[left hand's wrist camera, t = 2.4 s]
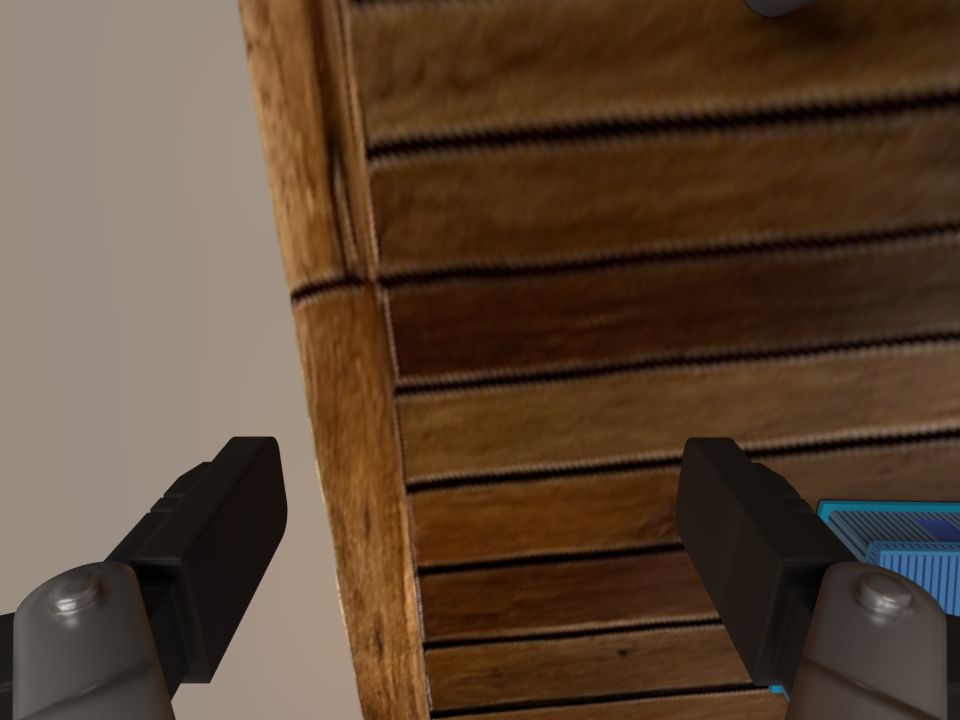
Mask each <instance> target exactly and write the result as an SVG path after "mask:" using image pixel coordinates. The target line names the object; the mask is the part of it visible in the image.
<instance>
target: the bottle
mask: <svg viewBox="0 0 960 720" xmlns="http://www.w3.org/2000/svg"><path fill="white" fill-rule="evenodd" d="M818 1H820V0H745V2H746V3H747V5H748V6H749V7H750V8H751V9H752V10H754V11H755V12H757V13H759V14H761V15H764V16H769V17H778V16H783V15H787V14H789V13H792V12H794V11H796V10H799V9H801V8H804V7H806V6H808V5H811V4H813V3H816V2H818Z"/></svg>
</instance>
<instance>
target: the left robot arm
mask: <svg viewBox="0 0 960 720" xmlns="http://www.w3.org/2000/svg"><path fill="white" fill-rule="evenodd" d="M675 512H676V524H677V529H678V533H679V536H680V538H681V541H682V543H683V545H684V547H685V548H686V550H687V552H688V554H689V556H690V558H691V560H692V562H693V564H694V566H695V568H696V570H697V572H698V574H699V576H700V578H701V580H702V582H703V584H704V586H705V588H706V590H707V592H708V594H709V596H710V598H711V600H712V602H713V604H714V606H715V608H716V610H717V612H718V614H719V616H720V618H721V620H722V622H723V624H724V626H725V628H726V630H727V632H728V634H729V636H730V637H731V639H732V641H733V643H734V645H735V647H736V649H737V651H738V653H739V655H740V657H741V659H742V661H743V663H744V665H745V667H746V669H747V671H748V673H749V675H750V677H751V679H752V681H753V683H754V685H755V686H785V688H786V690H787V692H788V694H789V695H790V701H789V704H788V708H787V712H786V715H785V719H784V720H960V616H956V615H951V614H947V613H944V611H943V609H942V607H941V606H940V604H939V603H938V601H937V600H936V599H935V598H934V597H933V596H932V595H931V594H930V593H929V592H927V591H926V590H925V589H924V588H922V587H921V586H920V585H918V584H917V583H915V582H914V581H912V580H910V579H909V578H907V577H905V576H903V575H901V574H899V573H897V572H894V571H892V570H889V569H887V568H884V567H881V566H878V565H874V564H869V563H864V562H860V561H859V560H858V559H857V558H856V556H855V555H854V554H853V553H852V552H851V551H850V550H849V549H848V548H847V547H846V545H845V544H844V543H843V542H842V541H841V540H840V539H839V538H838V537H837V536H836V534H835V533H834V532H833V531H832V530H831V529H830V528H829V527H828V526H827V524H826V523H825V522H824V521H823V520H822V519H821V518H820V517H819V516H818V515H817V514H814V510H813V509H812V508H811V507H810V506H809V505H808V504H807V502H806V501H805V500H804V499H801V498H800V495H799V494H798V492H797V491H796V490H795V489H794V488H793V487H792V486H791V485H790V484H789V483H788V481H787V480H786V479H785V478H784V477H782V476H780V475H779V474H777V473H775V472H774V471H772V470H771V469H769V468H767V467H766V466H764V465H762V464H761V463H752V462H751V461H750V460H749V458H748V457H747V456H746V455H745V454H744V452H743V451H742V450H741V449H740V448H739V447H738V445H737V444H736V443H735V442H734V441H733V440H732V439H731V438H689V439H688V440H687V442H686V444H685V447H684V453H683V459H682V466H681V473H680V480H679V487H678V493H677V500H676V511H675ZM286 523H287V499H286V493H285V486H284V479H283V472H282V465H281V458H280V451H279V446H278V443H277V440H276V439H275V438H274V437H233V438H231V439H230V440H229V441H228V443H227V444H226V445H225V446H224V447H223V449H222V450H221V451H220V452H219V453H218V455H217V456H216V457H215V458H214V459H213V461H212V462H203V463H201V464H199V465H198V466H196V467H195V468H193V469H191V470H190V471H188V472H186V473H185V474H183V475H182V476H180V477H179V478H178V479H177V480H176V481H175V482H174V483H173V485H172V486H171V487H170V488H169V489H168V490H167V491H166V492H165V493H164V497H163V498H160V499H159V500H158V501H157V502H156V504H155V505H154V506H153V507H152V508H151V511H150V513H147V514H146V515H145V516H144V517H143V518H142V519H141V520H140V521H139V523H138V524H137V525H136V526H135V527H134V528H133V529H132V530H131V531H130V532H129V534H128V535H127V536H126V537H125V538H124V539H123V540H122V541H121V542H120V544H119V545H118V546H117V547H116V548H115V549H114V550H113V551H112V553H111V554H110V555H109V556H108V557H107V558H106V559H105V560H104V561H103V562H96V563H91V564H87V565H82V566H79V567H76V568H73V569H71V570H68V571H66V572H63V573H61V574H59V575H57V576H55V577H53V578H51V579H50V580H48V581H46V582H45V583H43V584H42V585H40V586H39V587H38V588H36V589H35V590H34V591H33V592H31V593H30V594H29V595H28V596H27V597H26V598H25V599H24V600H23V601H22V603H21V604H20V606H19V607H18V609H17V611H16V612H14V613H9V614H5V615H0V720H176V719H175V715H174V712H173V708H172V704H171V700H172V698H173V696H174V695H175V693H176V691H177V689H178V687H179V686H180V684H181V683H210V682H211V680H212V678H213V676H214V673H215V672H216V670H217V668H218V666H219V664H220V661H221V660H222V658H223V656H224V654H225V652H226V650H227V648H228V646H229V643H230V642H231V639H232V638H233V635H234V634H235V632H236V630H237V628H238V626H239V624H240V622H241V620H242V618H243V616H244V614H245V612H246V610H247V608H248V605H249V604H250V602H251V600H252V598H253V595H254V594H255V591H256V590H257V587H258V586H259V583H260V581H261V580H262V578H263V576H264V574H265V571H266V569H267V567H268V565H269V563H270V561H271V559H272V557H273V555H274V553H275V551H276V549H277V547H278V545H279V543H280V541H281V539H282V537H283V535H284V532H285V528H286Z"/></svg>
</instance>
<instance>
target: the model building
mask: <svg viewBox="0 0 960 720" xmlns="http://www.w3.org/2000/svg"><path fill="white" fill-rule="evenodd" d="M817 515H818V516H819V517H820V518H821V519H822V520H823V521H824V522H825V523H826V524H827V526H828V527H829V528H830V529H831V530H832V531H833V532H834V533H835V534H836V536H837V537H838V538H839V539H840V540H841V541H842V542H843V543H844V544H845V545H846V547H847V548H848V549H849V550H850V551H851V552H852V553H853V554H854V555H855V556H856V558H857V559H858V560H859V561H860V562H864V563H869V564H874V565H878V566H881V567H884V568H887V569H889V570H892V571H894V572H897V573H899V574H901V575H903V576H905V577H907V578H909V579H910V580H912V581H914V582H915V583H917V584H918V585H920V586H921V587H922V588H924V589H925V590H926V591H927V592H929V593H930V594H931V595H932V596H933V597H934V598H935V599H936V600H937V601H938V603H939V604H940V606H941V607H942V609H943V611H944V613H947V614H951V615H956V616H960V503H949V502H890V501H831V500H821V501H820V505H819V508H818V512H817ZM769 690H770V692H772V693H784V695H785V697H786V699H787V701H788V703H789V701H790V695H789V694H788V692H787V690H786V688H785V686H769Z"/></svg>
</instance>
